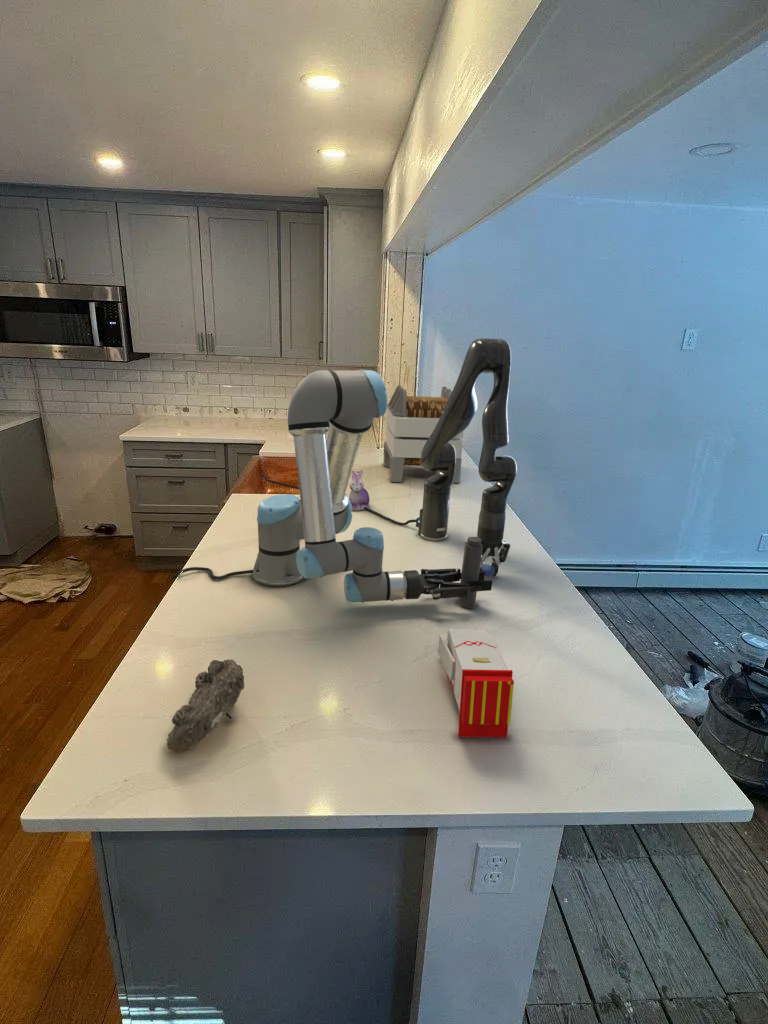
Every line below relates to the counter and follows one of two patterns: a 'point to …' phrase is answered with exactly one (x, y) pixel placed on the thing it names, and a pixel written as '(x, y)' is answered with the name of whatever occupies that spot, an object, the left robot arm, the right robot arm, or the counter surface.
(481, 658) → the toy
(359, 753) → the counter surface
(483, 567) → the lid
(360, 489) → the figurine
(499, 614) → the counter surface
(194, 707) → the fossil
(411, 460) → the grey storage crate
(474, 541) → the grey cylinder
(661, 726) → the counter surface
